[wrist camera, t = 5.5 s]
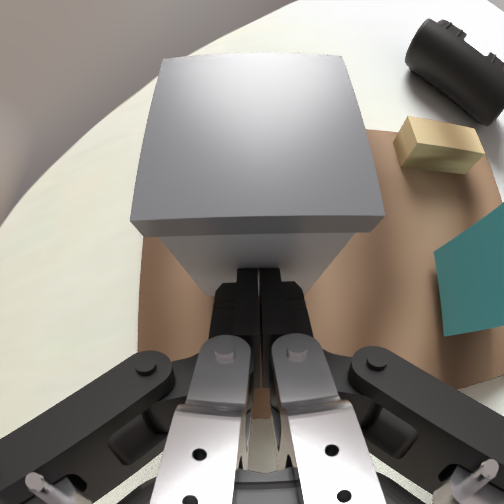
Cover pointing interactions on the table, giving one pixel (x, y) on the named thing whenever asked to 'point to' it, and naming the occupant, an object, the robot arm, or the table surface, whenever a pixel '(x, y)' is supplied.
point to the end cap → (458, 69)
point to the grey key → (255, 165)
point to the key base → (366, 267)
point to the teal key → (473, 276)
